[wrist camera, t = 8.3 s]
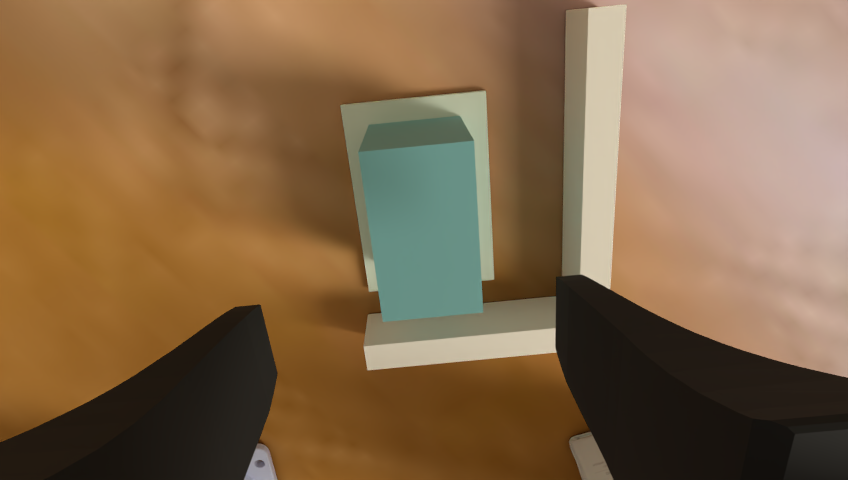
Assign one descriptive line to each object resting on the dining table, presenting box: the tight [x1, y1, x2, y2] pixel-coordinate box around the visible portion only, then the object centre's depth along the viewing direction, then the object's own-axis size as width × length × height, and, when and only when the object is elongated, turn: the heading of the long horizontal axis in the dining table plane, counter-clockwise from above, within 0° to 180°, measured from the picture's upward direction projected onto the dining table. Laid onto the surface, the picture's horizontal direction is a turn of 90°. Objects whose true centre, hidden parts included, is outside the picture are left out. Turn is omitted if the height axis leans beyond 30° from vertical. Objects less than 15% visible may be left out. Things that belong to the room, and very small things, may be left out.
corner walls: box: [364, 4, 627, 370], centre depth 20 cm, size 13×10×2 cm
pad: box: [340, 90, 494, 292], centre depth 21 cm, size 8×6×1 cm
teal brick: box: [358, 116, 483, 322], centre depth 18 cm, size 6×4×4 cm, turn 5°
